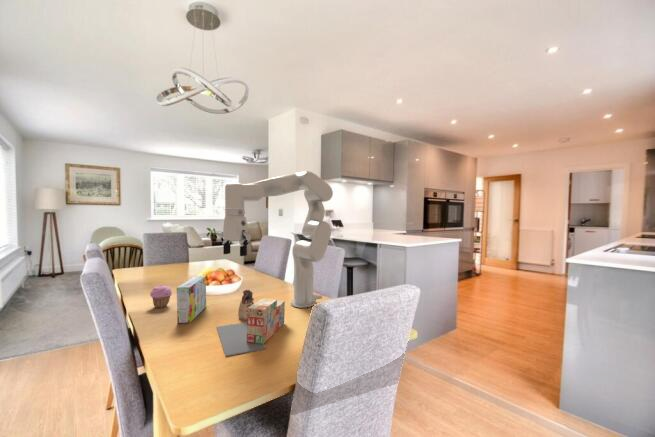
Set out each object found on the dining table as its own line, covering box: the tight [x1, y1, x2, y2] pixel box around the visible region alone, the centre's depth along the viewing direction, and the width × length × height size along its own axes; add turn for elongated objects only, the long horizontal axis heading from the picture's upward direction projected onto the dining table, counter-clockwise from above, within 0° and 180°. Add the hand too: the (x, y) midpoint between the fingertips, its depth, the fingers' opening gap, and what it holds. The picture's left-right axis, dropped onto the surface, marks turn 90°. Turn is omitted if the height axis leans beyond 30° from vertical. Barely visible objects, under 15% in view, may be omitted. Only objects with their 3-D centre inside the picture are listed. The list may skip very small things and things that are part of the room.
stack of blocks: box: [246, 297, 286, 345], centre depth 114 cm, size 21×6×12 cm, turn 168°
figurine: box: [238, 289, 255, 321], centre depth 130 cm, size 7×7×12 cm
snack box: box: [176, 275, 207, 324], centre depth 132 cm, size 21×6×15 cm, turn 5°
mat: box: [216, 321, 266, 358], centre depth 109 cm, size 13×26×1 cm, turn 26°
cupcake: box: [149, 285, 172, 309], centre depth 143 cm, size 9×9×10 cm
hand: (235, 254), depth 124 cm, fingers open, 9 cm apart
